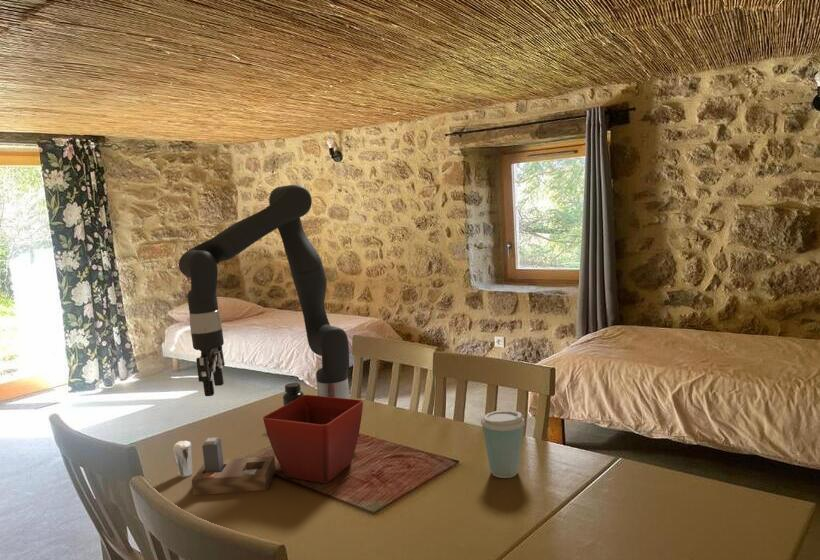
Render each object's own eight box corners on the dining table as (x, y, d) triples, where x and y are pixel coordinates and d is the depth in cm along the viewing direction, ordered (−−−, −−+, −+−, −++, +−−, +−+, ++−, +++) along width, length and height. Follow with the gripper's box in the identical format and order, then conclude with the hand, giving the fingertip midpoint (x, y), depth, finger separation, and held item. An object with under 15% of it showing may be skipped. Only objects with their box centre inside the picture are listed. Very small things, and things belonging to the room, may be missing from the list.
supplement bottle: (286, 418, 200) (282, 382, 199) (307, 415, 201) (303, 380, 199) (284, 425, 193) (280, 389, 192) (305, 423, 194) (302, 386, 193)
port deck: (275, 470, 160) (274, 454, 160) (266, 489, 150) (264, 473, 149) (207, 475, 160) (205, 459, 160) (193, 495, 149) (191, 478, 149)
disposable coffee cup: (474, 475, 150) (471, 416, 148) (499, 459, 157) (496, 403, 155) (511, 486, 142) (508, 425, 140) (535, 469, 150) (532, 411, 148)
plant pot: (369, 459, 163) (364, 399, 161) (331, 492, 146) (325, 425, 144) (310, 451, 171) (304, 394, 169) (267, 481, 154) (260, 418, 152)
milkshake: (191, 479, 159) (187, 442, 157) (173, 478, 160) (168, 442, 159) (200, 471, 163) (196, 435, 162) (182, 470, 164) (178, 435, 163)
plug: (225, 479, 157) (220, 436, 155) (221, 486, 153) (216, 441, 152) (211, 480, 157) (206, 437, 155) (207, 487, 153) (201, 442, 152)
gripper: (213, 333, 147) (221, 398, 149) (228, 321, 161) (236, 380, 163) (181, 336, 147) (191, 400, 149) (200, 324, 161) (208, 383, 163)
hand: (214, 390), depth 156 cm, fingers open, 8 cm apart
